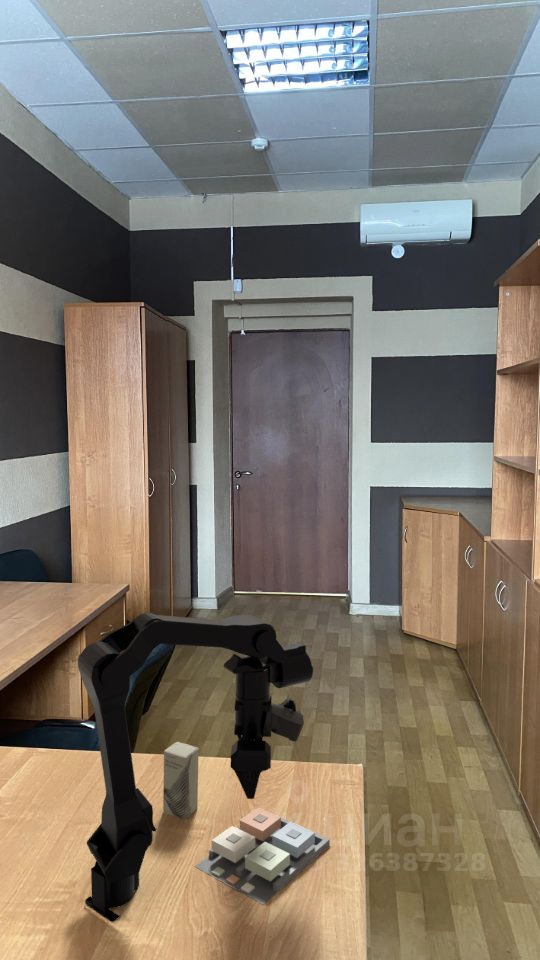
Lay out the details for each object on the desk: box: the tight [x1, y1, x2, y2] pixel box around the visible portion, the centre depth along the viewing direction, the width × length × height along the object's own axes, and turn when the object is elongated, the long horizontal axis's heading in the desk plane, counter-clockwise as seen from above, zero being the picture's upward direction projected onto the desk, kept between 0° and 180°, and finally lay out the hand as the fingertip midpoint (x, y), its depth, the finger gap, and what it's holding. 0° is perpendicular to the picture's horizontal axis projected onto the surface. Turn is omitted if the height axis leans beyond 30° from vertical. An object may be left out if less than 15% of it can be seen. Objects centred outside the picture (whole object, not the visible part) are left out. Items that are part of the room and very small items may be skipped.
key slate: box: [272, 821, 316, 858], centre depth 114 cm, size 5×5×2 cm
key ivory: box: [211, 825, 255, 863], centre depth 112 cm, size 5×5×2 cm
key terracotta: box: [239, 807, 282, 841], centre depth 118 cm, size 5×5×2 cm
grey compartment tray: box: [194, 817, 331, 906], centre depth 113 cm, size 18×14×2 cm
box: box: [162, 741, 200, 820], centre depth 126 cm, size 5×4×13 cm
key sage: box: [245, 842, 290, 881], centre depth 108 cm, size 5×5×2 cm
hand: (251, 783), depth 116 cm, fingers open, 9 cm apart
